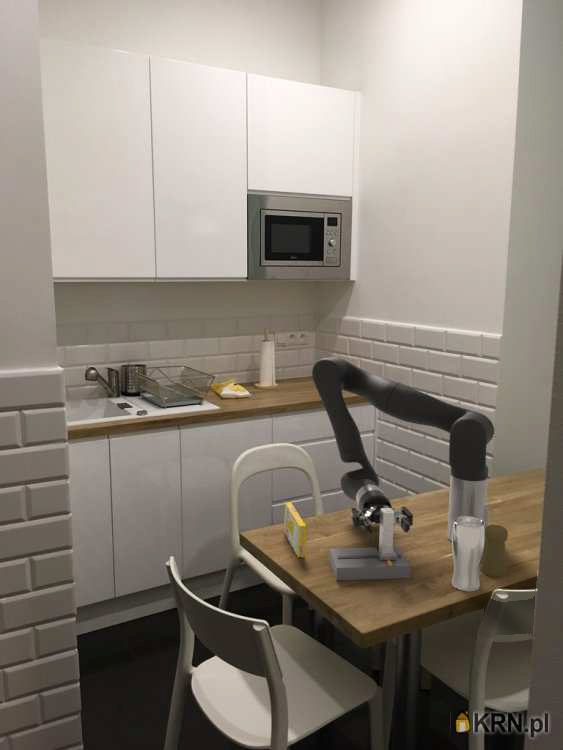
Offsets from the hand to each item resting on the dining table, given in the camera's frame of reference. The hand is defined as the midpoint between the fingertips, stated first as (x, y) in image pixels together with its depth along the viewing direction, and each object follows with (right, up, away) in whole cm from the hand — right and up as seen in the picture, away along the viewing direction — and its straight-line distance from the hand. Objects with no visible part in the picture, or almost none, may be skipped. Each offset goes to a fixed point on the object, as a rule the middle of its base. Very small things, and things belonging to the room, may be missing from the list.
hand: (388, 529), depth 147 cm
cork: (+25, -11, +2) cm, 27 cm away
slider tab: (0, -7, +3) cm, 7 cm away
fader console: (-4, -10, +3) cm, 11 cm away
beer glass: (+16, -12, -4) cm, 21 cm away
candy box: (-21, -8, +16) cm, 28 cm away
